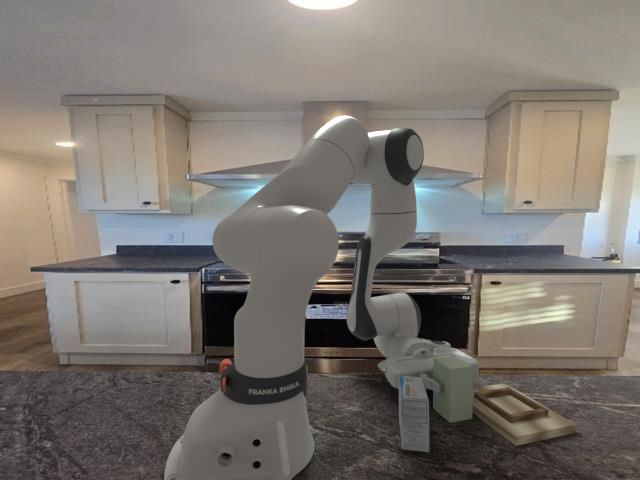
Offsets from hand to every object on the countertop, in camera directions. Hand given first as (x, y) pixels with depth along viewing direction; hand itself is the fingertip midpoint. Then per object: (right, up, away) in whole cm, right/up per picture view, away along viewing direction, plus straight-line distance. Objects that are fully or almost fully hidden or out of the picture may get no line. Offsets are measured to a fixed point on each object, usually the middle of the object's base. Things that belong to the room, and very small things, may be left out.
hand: (455, 387), depth 58 cm
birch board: (+11, -5, +1) cm, 12 cm away
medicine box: (-10, -6, -6) cm, 13 cm away
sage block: (0, -5, +1) cm, 6 cm away
